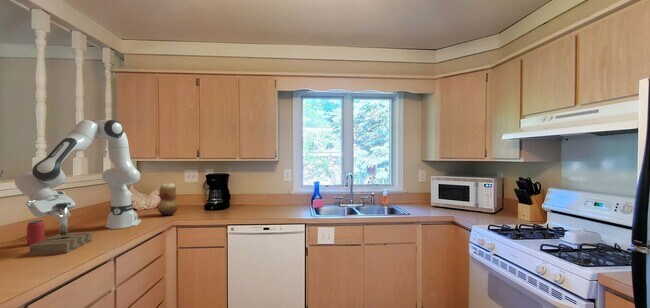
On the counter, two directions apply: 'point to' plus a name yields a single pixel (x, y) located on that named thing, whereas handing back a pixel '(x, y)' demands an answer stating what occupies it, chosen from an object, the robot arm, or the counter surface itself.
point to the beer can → (35, 232)
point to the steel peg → (65, 217)
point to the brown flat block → (60, 243)
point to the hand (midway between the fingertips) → (64, 217)
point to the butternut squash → (168, 199)
